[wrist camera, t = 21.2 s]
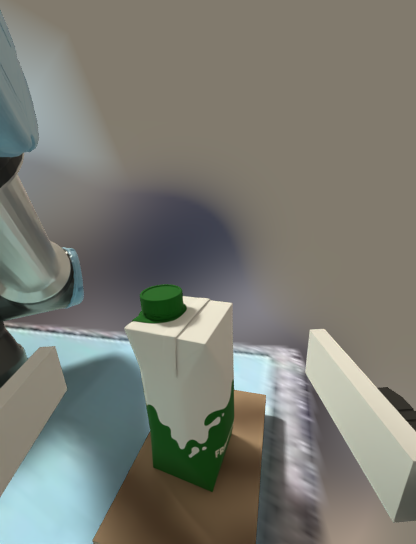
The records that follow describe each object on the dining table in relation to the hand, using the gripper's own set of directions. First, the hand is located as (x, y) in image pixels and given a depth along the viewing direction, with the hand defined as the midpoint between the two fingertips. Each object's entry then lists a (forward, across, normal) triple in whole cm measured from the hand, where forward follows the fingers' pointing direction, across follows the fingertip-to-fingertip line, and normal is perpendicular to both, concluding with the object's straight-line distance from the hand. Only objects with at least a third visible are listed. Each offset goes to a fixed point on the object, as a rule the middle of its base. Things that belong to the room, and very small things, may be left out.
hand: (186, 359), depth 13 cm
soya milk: (+10, -1, -21) cm, 23 cm away
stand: (+10, 0, -24) cm, 26 cm away
